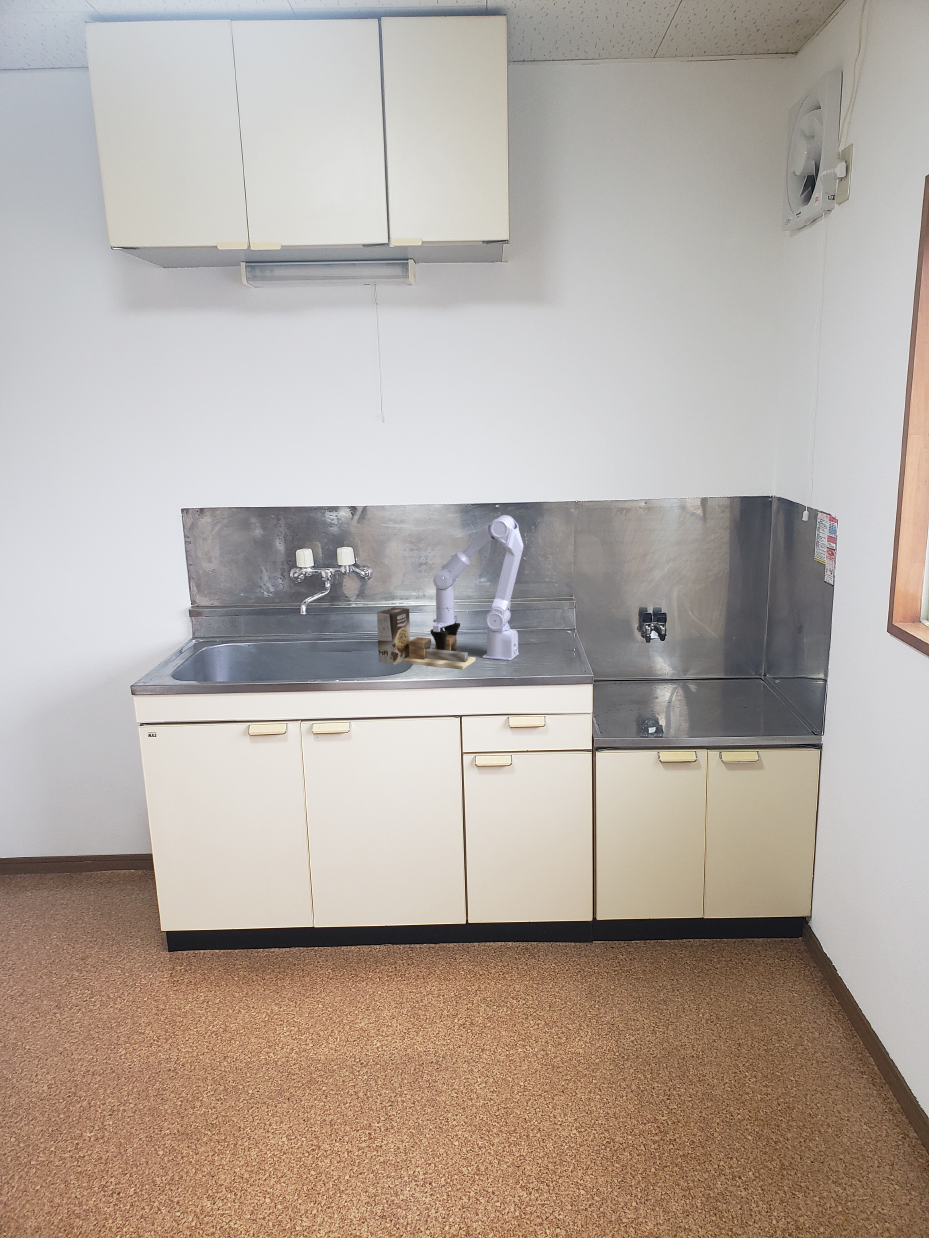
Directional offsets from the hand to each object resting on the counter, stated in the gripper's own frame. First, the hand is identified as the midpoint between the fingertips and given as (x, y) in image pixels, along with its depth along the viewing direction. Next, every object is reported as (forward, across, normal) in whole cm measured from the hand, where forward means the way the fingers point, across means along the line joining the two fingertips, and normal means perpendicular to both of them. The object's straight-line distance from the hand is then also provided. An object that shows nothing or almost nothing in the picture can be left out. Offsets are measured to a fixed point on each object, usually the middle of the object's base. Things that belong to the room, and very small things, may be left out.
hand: (446, 648), depth 284 cm
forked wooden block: (+2, 0, 0) cm, 2 cm away
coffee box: (+2, +12, -12) cm, 17 cm away
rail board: (+2, +10, +2) cm, 10 cm away
